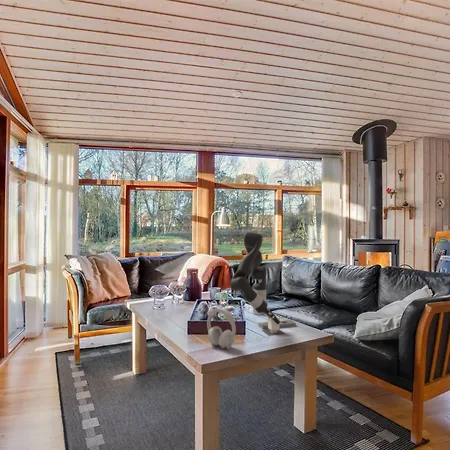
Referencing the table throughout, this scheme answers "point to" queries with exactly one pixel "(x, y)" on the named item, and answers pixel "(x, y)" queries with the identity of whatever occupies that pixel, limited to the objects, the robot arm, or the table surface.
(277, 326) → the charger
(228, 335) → the headphones
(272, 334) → the mat
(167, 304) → the table surface
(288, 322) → the power strip
